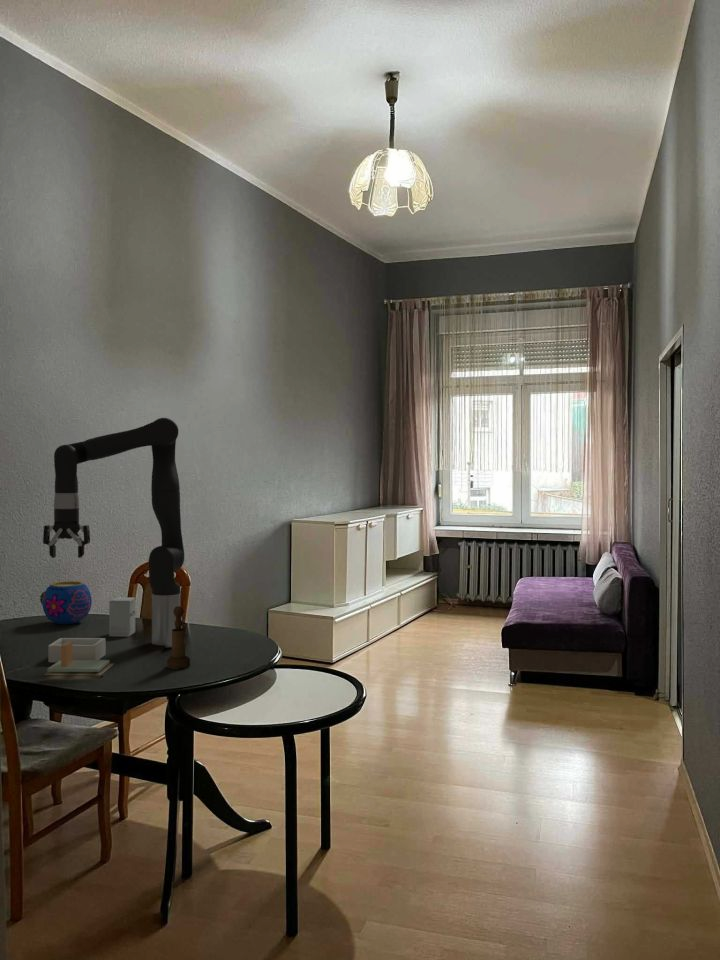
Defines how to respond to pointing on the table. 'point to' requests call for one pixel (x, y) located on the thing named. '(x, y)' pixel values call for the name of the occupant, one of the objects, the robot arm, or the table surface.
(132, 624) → the supplement box
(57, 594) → the ceramic pot
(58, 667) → the lid
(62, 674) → the board
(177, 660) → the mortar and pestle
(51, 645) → the tub
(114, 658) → the table surface
